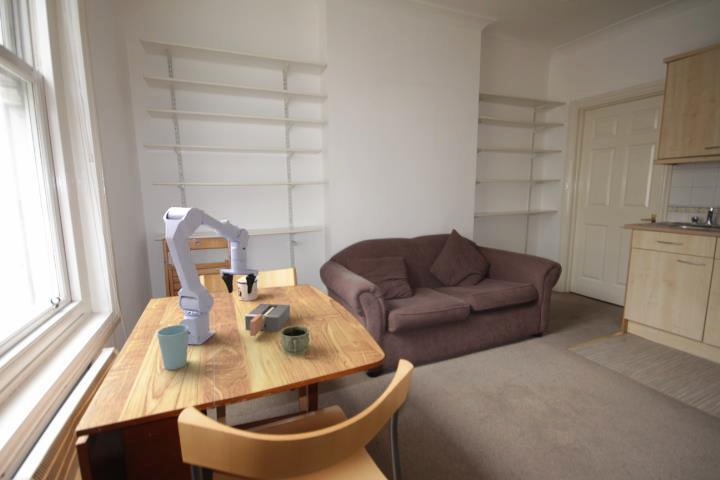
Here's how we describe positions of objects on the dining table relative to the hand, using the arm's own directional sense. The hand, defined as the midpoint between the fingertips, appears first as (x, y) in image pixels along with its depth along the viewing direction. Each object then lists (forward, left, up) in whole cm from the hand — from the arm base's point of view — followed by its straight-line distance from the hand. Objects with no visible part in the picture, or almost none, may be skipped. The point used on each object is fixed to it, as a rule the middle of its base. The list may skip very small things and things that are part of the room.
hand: (240, 292), depth 130 cm
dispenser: (-5, -13, -10) cm, 17 cm away
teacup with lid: (+22, +7, -10) cm, 25 cm away
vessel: (-25, -29, -10) cm, 40 cm away
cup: (-38, +2, -10) cm, 40 cm away
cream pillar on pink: (-10, -13, -8) cm, 19 cm away
